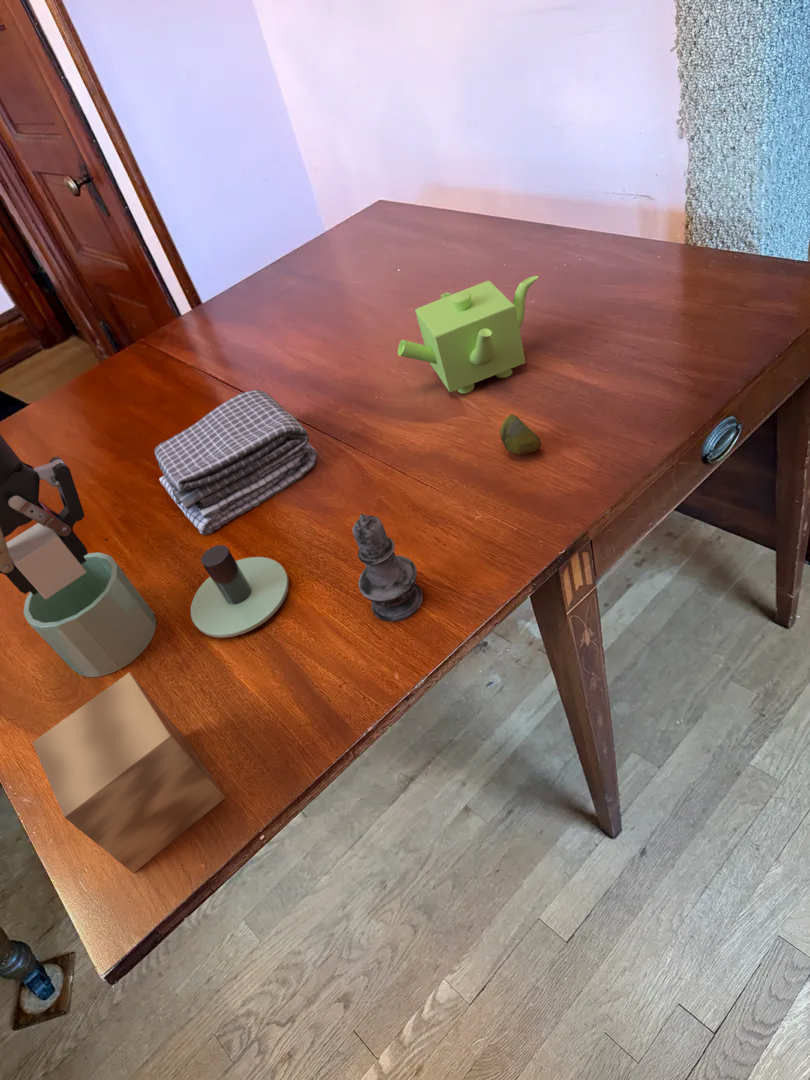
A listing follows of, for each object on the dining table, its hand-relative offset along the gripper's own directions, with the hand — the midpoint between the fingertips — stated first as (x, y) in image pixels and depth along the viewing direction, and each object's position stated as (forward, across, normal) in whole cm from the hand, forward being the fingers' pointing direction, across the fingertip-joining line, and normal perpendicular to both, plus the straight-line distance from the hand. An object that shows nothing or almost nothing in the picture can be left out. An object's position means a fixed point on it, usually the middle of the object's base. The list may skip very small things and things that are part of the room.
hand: (58, 573), depth 74 cm
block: (0, 0, 0) cm, 0 cm away
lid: (+10, +13, -8) cm, 18 cm away
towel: (+11, +24, +12) cm, 29 cm away
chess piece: (+11, +24, -22) cm, 34 cm away
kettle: (+11, +57, +2) cm, 58 cm away
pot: (+11, 0, 0) cm, 11 cm away
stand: (+11, -4, -22) cm, 25 cm away
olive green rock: (+11, +48, -16) cm, 52 cm away
